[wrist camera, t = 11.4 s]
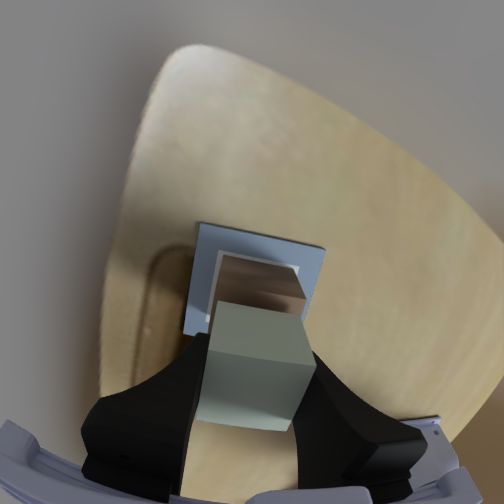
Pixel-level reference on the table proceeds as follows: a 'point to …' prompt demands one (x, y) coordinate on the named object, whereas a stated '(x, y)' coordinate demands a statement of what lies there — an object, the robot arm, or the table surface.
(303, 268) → the pad
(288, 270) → the walnut cube
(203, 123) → the table surface
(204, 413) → the sage cube
